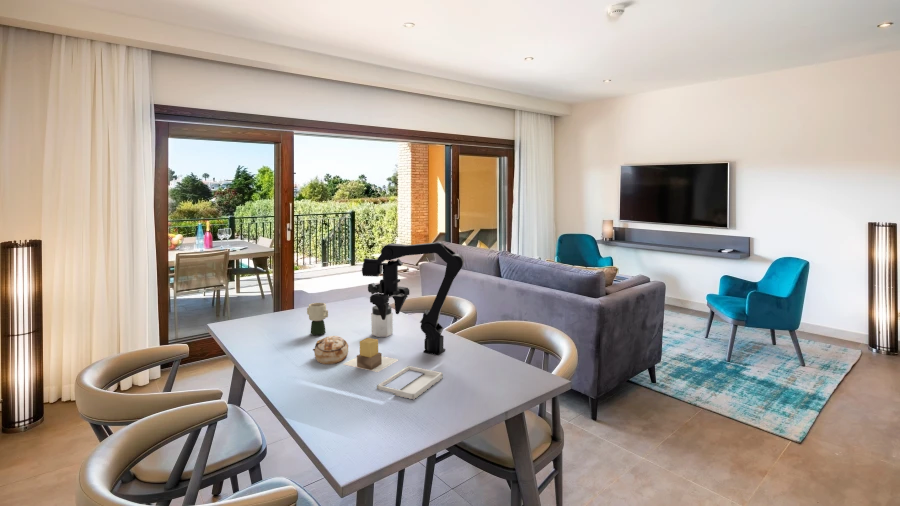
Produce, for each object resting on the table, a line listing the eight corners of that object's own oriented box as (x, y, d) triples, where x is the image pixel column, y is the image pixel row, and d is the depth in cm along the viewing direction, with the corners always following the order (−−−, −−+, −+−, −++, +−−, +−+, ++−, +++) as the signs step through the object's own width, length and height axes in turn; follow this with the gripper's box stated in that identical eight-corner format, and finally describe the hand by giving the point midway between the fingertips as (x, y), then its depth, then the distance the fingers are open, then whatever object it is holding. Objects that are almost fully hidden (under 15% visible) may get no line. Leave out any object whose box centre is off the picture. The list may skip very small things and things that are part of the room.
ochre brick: (378, 353, 160) (378, 339, 159) (370, 357, 156) (370, 343, 155) (367, 351, 162) (367, 337, 161) (359, 355, 158) (359, 341, 157)
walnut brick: (381, 364, 161) (381, 353, 160) (371, 370, 156) (371, 358, 155) (367, 361, 164) (367, 350, 163) (357, 366, 158) (356, 355, 158)
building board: (399, 361, 165) (399, 359, 165) (377, 374, 154) (377, 372, 154) (365, 354, 172) (365, 352, 172) (342, 366, 161) (342, 364, 160)
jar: (371, 337, 192) (370, 309, 191) (371, 331, 200) (371, 304, 199) (392, 336, 193) (392, 309, 192) (392, 331, 201) (392, 304, 200)
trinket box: (339, 349, 178) (339, 330, 177) (358, 360, 166) (357, 339, 165) (306, 357, 169) (305, 336, 168) (323, 369, 158) (322, 347, 157)
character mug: (333, 333, 197) (333, 304, 195) (322, 338, 191) (322, 307, 189) (313, 330, 202) (312, 301, 200) (302, 334, 195) (301, 304, 193)
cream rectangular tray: (442, 378, 151) (442, 372, 151) (413, 400, 135) (413, 394, 135) (408, 370, 157) (408, 365, 157) (376, 391, 141) (376, 385, 141)
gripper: (386, 271, 186) (387, 308, 188) (357, 278, 170) (358, 319, 172) (410, 273, 181) (410, 312, 183) (382, 281, 165) (383, 324, 167)
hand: (390, 316), depth 176 cm, fingers open, 9 cm apart
